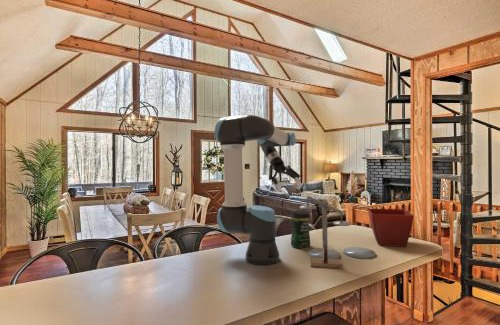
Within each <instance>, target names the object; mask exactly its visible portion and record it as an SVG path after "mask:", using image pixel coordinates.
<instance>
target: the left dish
mask: <svg viewBox="0 0 500 325" xmlns="http://www.w3.org/2000/svg"><path fill="white" fill-rule="evenodd" d="M340 254H341V253H340V252H339V251H337V250H335V249H333V248H328V258H331V259H340V258H341V257H340V256H341V255H340ZM308 256H309V257H310V256H311V257H313V258H323V247H322V248H321V247H319V248H312V249H309V250H308ZM311 257H310V258H311Z"/></svg>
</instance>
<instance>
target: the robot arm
mask: <svg viewBox="0 0 500 325" xmlns="http://www.w3.org/2000/svg"><path fill="white" fill-rule="evenodd" d="M214 136H215V140H216V141H217V142H218V143H219V146H220V148H221V149H223V171H224V172H223V174H224V175H223V176H224V178H223V179H224V184H223V185H224V202H222V204H221V207H220V208H219V209H218V211H217V214H216V222H217V226H218V228H219V229H220V231H222V232H224V233H228V234H236V235H237V234H238V235H248V238H249V240H248V242H249V243H248V245H247V248H246V252H245V261H246V263H249V264H251V265H252V264H253V265H258V266H264V265H265V266H268V265H273V264H277V263H278V262H280V260H281V259H280V258H281V257H280V252H279V249H278V246H277V244H276V214H275V210H274V209H273V208H271V207H269V206H264V205H256V204H255V205H254V204H253V205H249V206H247V203H246V202H245V201H244V200H245V199H244V177H243V176H244V175H243V171H244V170H243V148H244V147H245V146H246V142H251V141H257V144H259V145H258V146H259V147H260V148H261V150H262V152H263V154H264V156H265V157H266V159H267V161H268V163H269V164H270V165H269V167H268V180H269V181H271V182H272V183H274V185H275V186H276V187H277V189H278V190H279V191H280V190H281V189H282V188H283V186H282V184H281V183H280V182H281V181H279V179H278V177H277V176H278V175H277V174H284V175H286V176H289V177H290V178H292V179H293V180H294V182H295V184H296V187H297V188H298V190H300V189H301V188H302V187H303V184H302V183H301V180H300V178H301V175H300V174H299V173H298V172H297V171H296V170H294V169H293V168H292V167H291V165H289V164H288V165H287V166H286V165H285V162H284V160H283V159H282V157H281V155H280V154H279V152H278V150H277V148H276V147H292V146H295V144H296V134H295V132H285V131H283V130H281V129H280V128H279V127H278V126H277V127H276V126H275V125H274V123H273V122H271V121H270V120H269V119H267V118H264V117H261V116H258V115H254V114H245V115H243V114H242V115H233V116H230V115H229V116H226V117H221V118H219V119H218V121H217V122H216V124H215V127H214ZM273 172H274V174H273Z"/></svg>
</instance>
